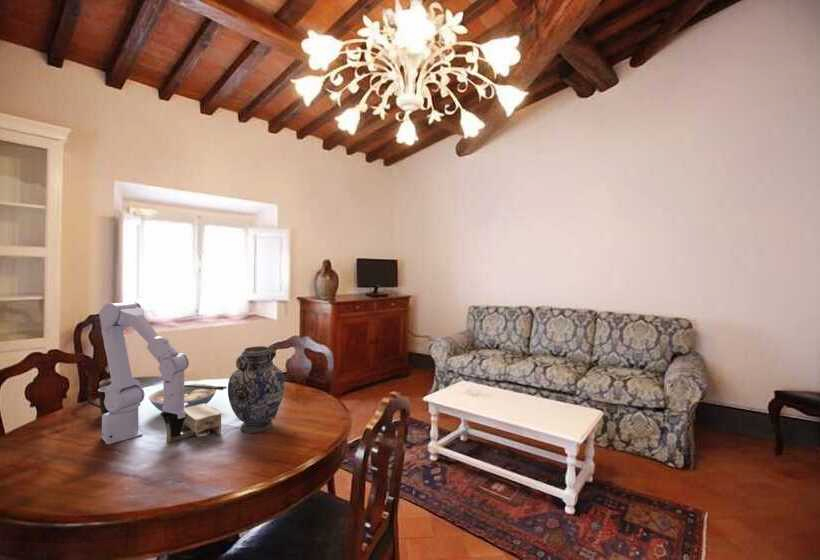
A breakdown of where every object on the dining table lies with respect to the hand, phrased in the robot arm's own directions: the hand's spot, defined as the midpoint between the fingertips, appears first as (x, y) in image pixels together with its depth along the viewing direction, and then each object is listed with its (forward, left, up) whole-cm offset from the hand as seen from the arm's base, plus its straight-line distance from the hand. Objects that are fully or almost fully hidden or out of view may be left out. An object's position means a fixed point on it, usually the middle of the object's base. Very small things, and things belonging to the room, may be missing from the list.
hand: (173, 434), depth 123 cm
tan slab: (+8, +1, -2) cm, 9 cm away
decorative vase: (+23, -9, -2) cm, 25 cm away
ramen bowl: (+11, +25, -2) cm, 28 cm away
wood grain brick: (+5, 0, -2) cm, 5 cm away
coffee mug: (-9, +42, -2) cm, 43 cm away
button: (+8, -2, -2) cm, 9 cm away
